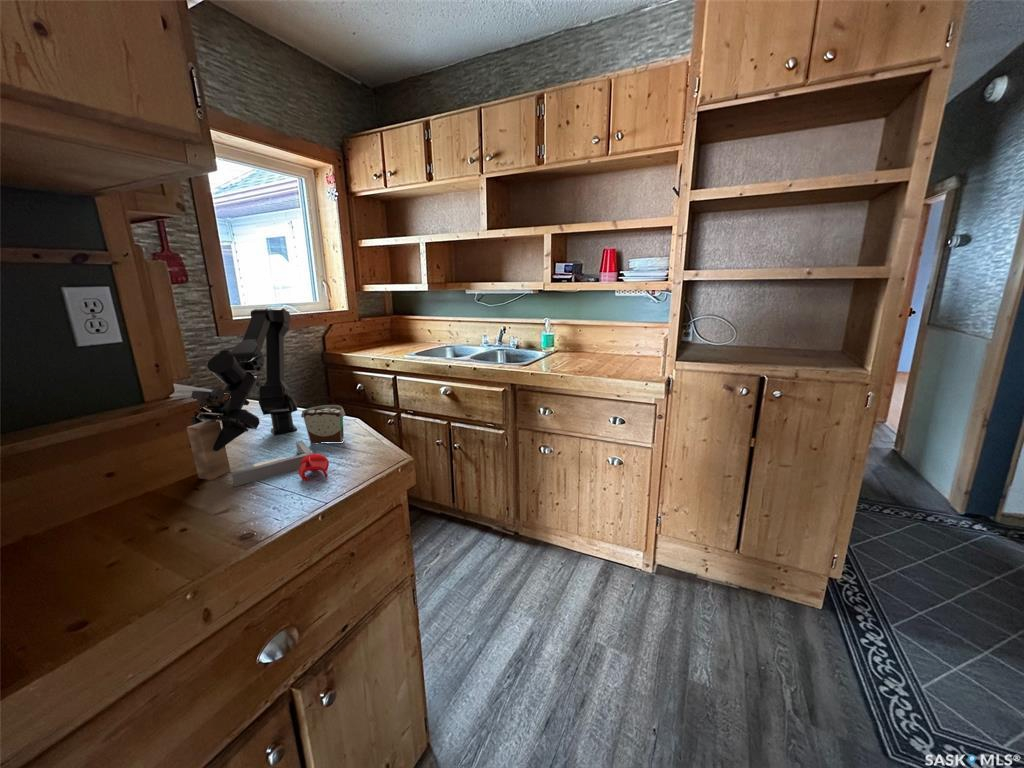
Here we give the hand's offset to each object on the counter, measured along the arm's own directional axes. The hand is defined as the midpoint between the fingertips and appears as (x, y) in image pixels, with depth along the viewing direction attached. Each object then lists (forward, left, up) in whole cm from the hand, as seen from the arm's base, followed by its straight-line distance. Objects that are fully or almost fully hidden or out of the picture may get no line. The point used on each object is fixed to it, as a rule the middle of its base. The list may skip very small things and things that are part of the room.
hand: (203, 449), depth 97 cm
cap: (+18, +20, -7) cm, 28 cm away
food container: (-5, +30, -7) cm, 31 cm away
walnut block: (-1, +1, -7) cm, 7 cm away
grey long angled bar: (+4, +13, -7) cm, 15 cm away
